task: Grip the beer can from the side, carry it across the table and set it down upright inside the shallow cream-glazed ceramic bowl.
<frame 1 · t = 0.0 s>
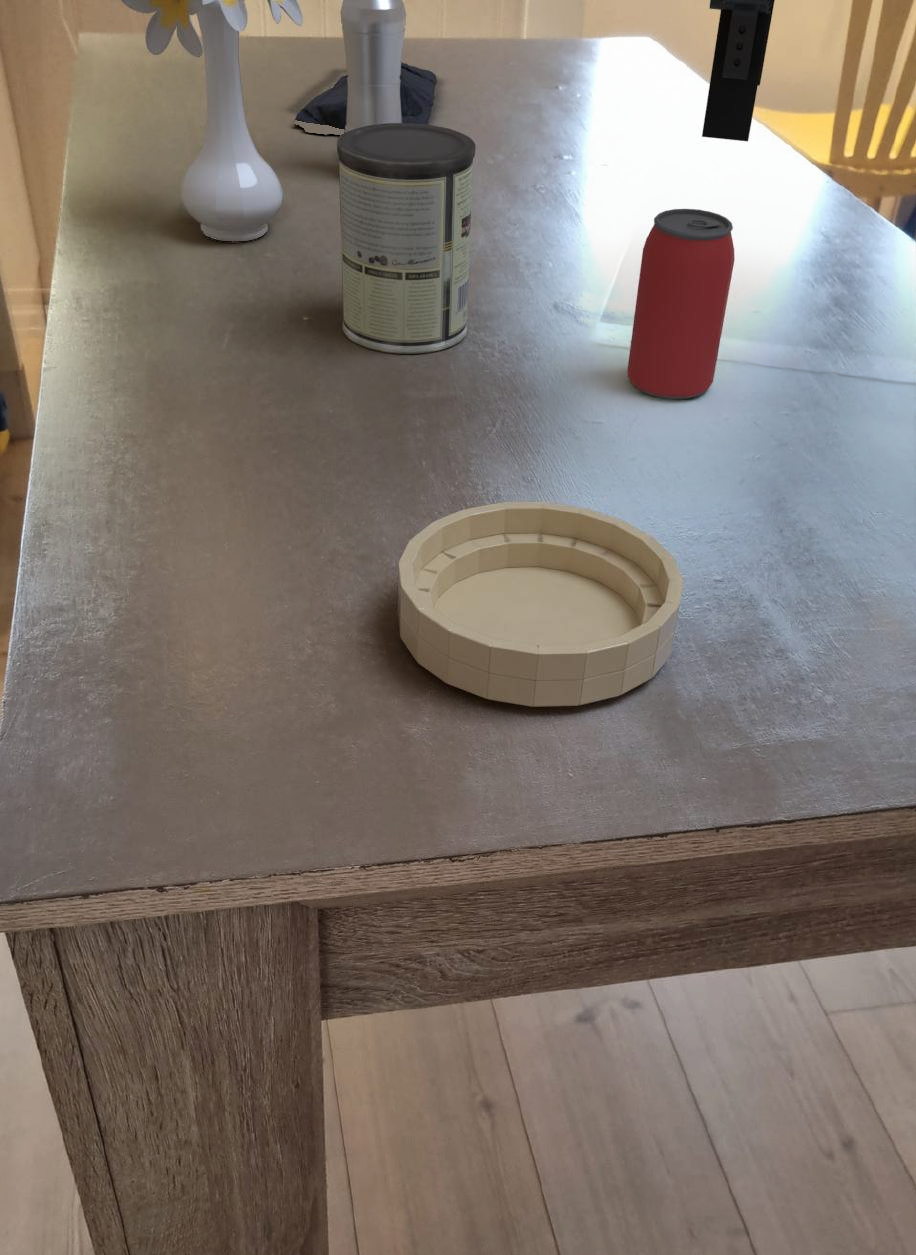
hand: (732, 109, 82), 21 cm above the table, tool pointing down, fingers open, 13 cm apart
coffee can: (404, 332, 106), on the table
bowl: (535, 632, 75), on the table
flower vase: (236, 237, 121), on the table
dark blue folded cloth: (375, 115, 154), on the table
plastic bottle: (374, 178, 136), on the table
beer can: (668, 386, 100), on the table
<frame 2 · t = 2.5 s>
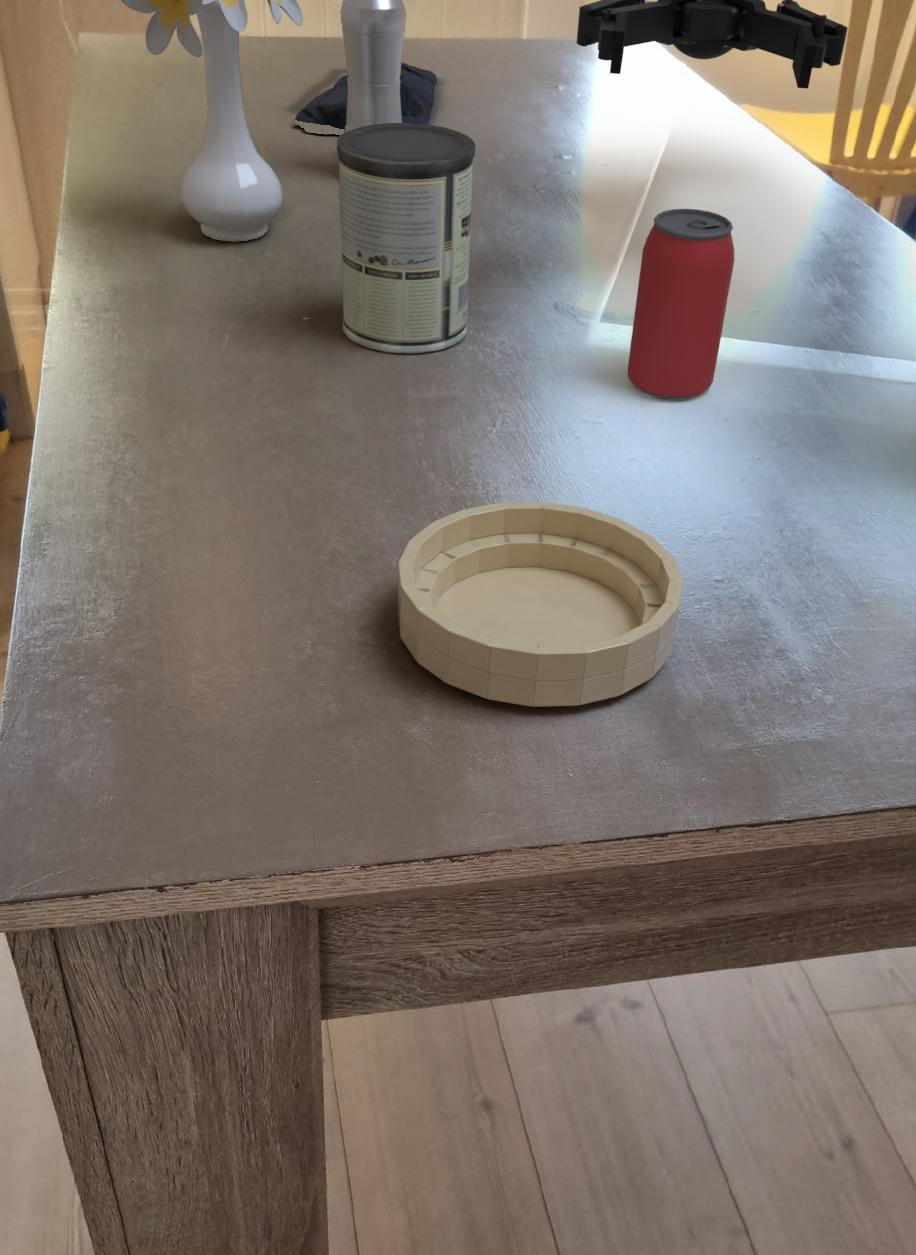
hand: (711, 60, 94), 20 cm above the table, tool horizontal, fingers open, 13 cm apart
nothing on the table moved.
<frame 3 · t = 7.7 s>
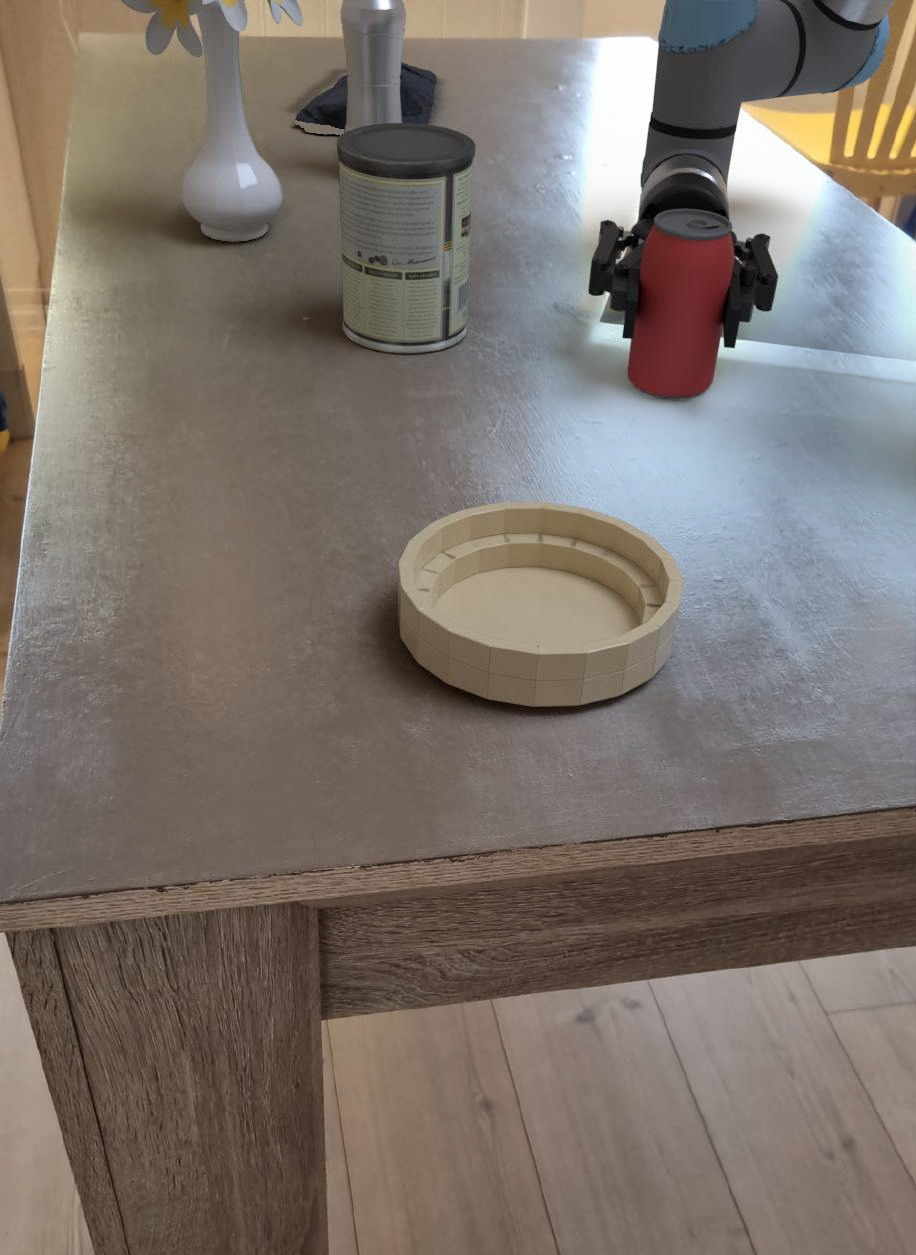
hand: (681, 324, 92), 7 cm above the table, tool horizontal, fingers closed on beer can, 6 cm apart
beer can: (668, 386, 100), on the table, touching gripper
everything else where it was.
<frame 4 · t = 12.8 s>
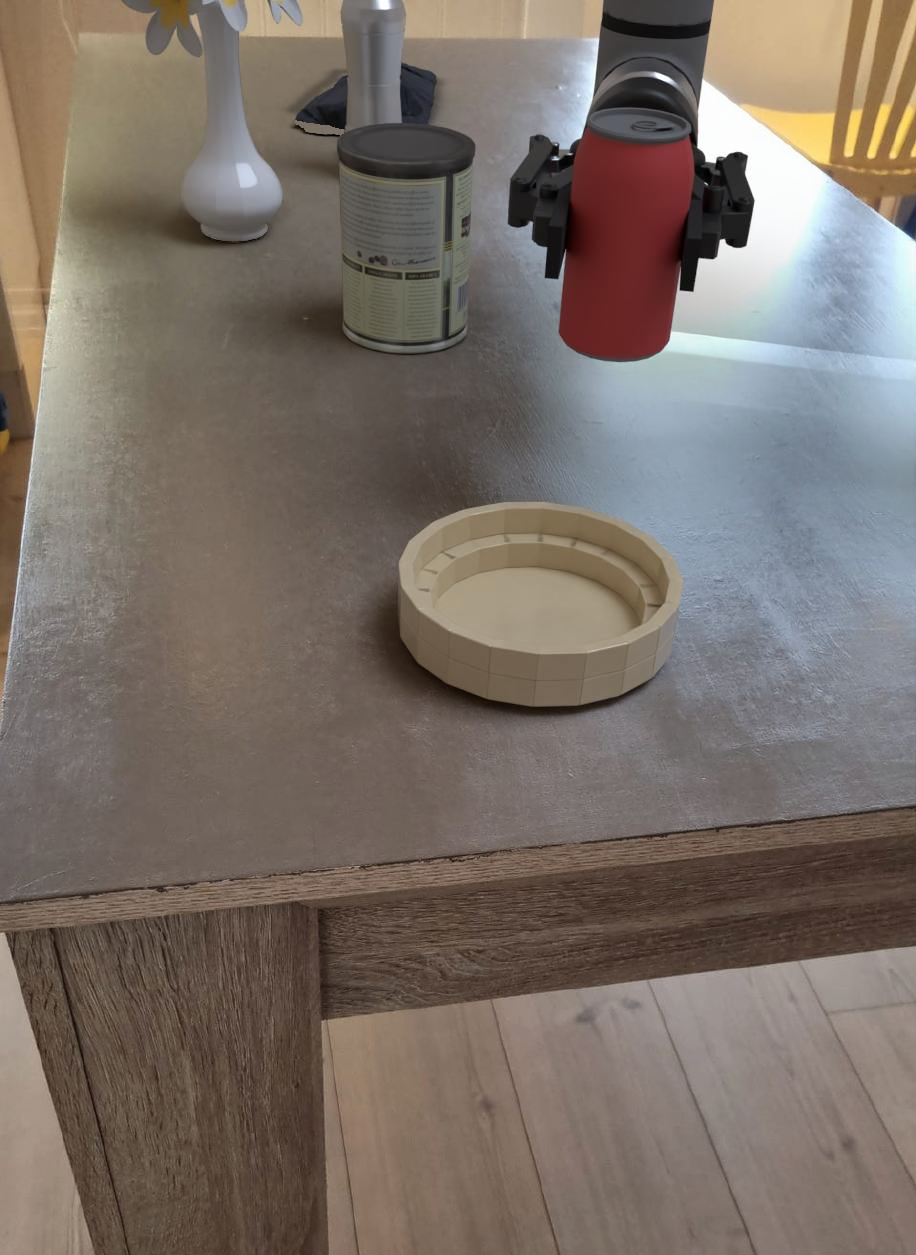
hand: (621, 259, 69), 18 cm above the table, tool horizontal, fingers closed on beer can, 6 cm apart
beer can: (612, 347, 77), point 11 cm above the table, touching gripper
everything else where it was.
when the fingers open (7 cm above the table, at t = 17.9 s): beer can stays where it is, resting on bowl.
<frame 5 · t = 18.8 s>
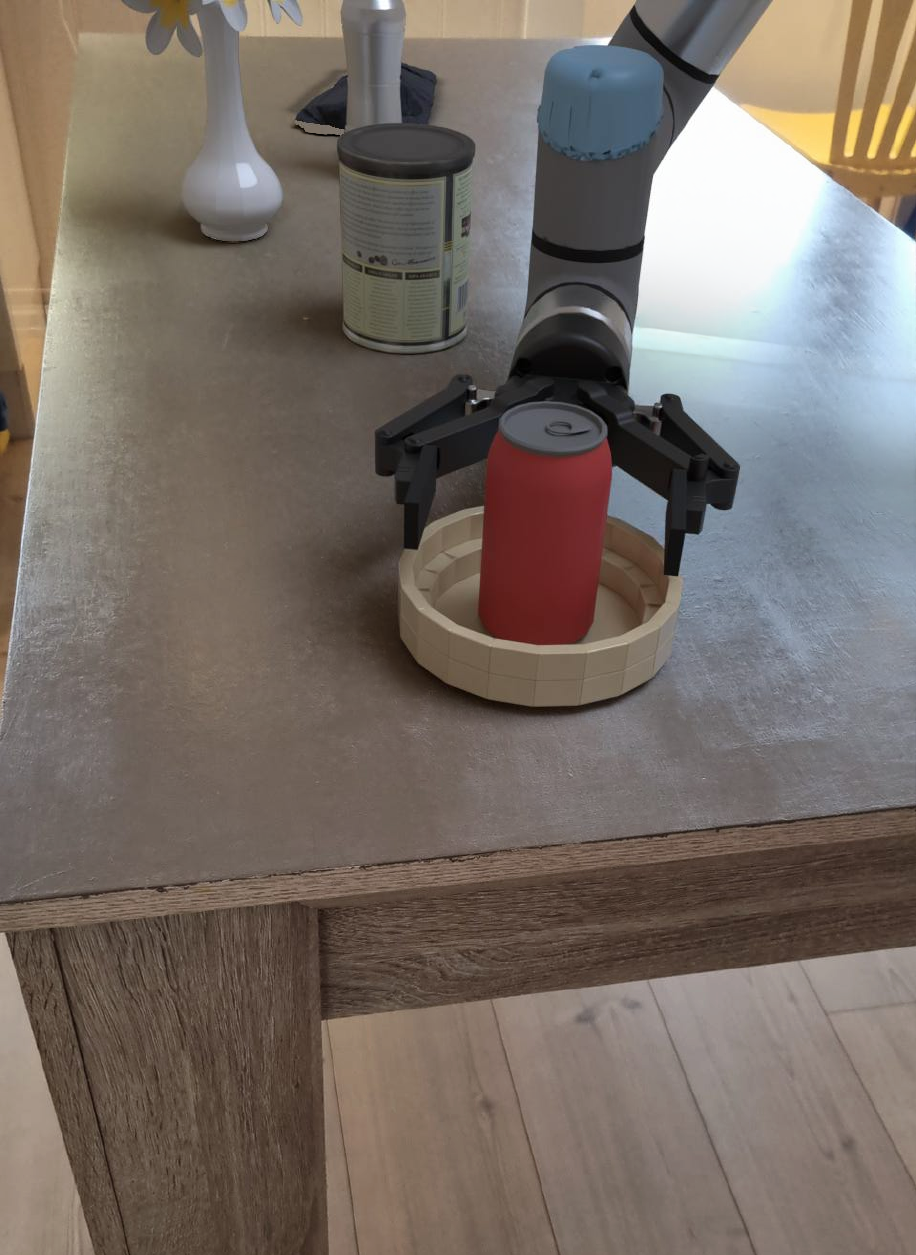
hand: (541, 540, 67), 8 cm above the table, tool horizontal, fingers open, 13 cm apart
beer can: (534, 625, 74), resting on bowl
everything else where it was.
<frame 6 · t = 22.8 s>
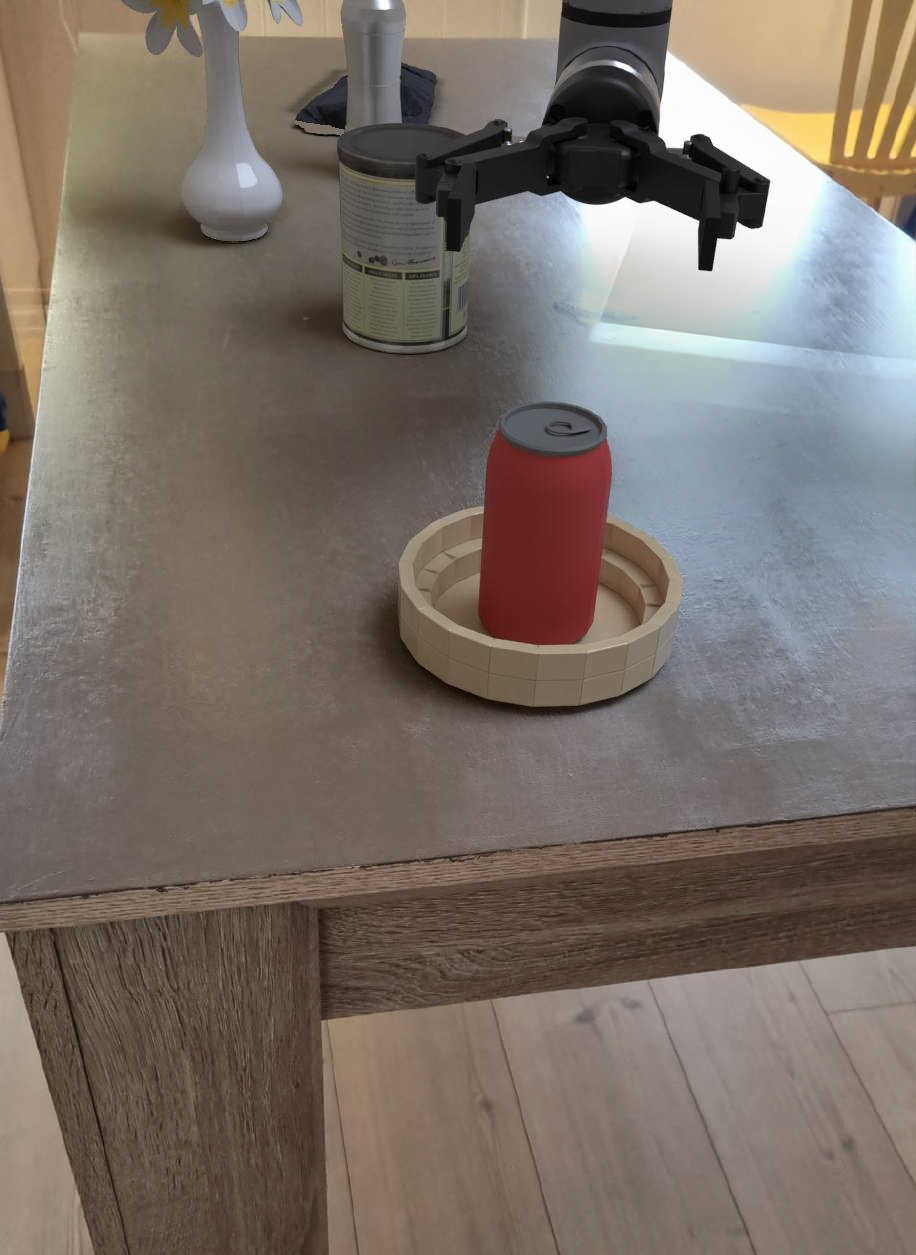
hand: (580, 235, 69), 19 cm above the table, tool horizontal, fingers open, 13 cm apart
nothing on the table moved.
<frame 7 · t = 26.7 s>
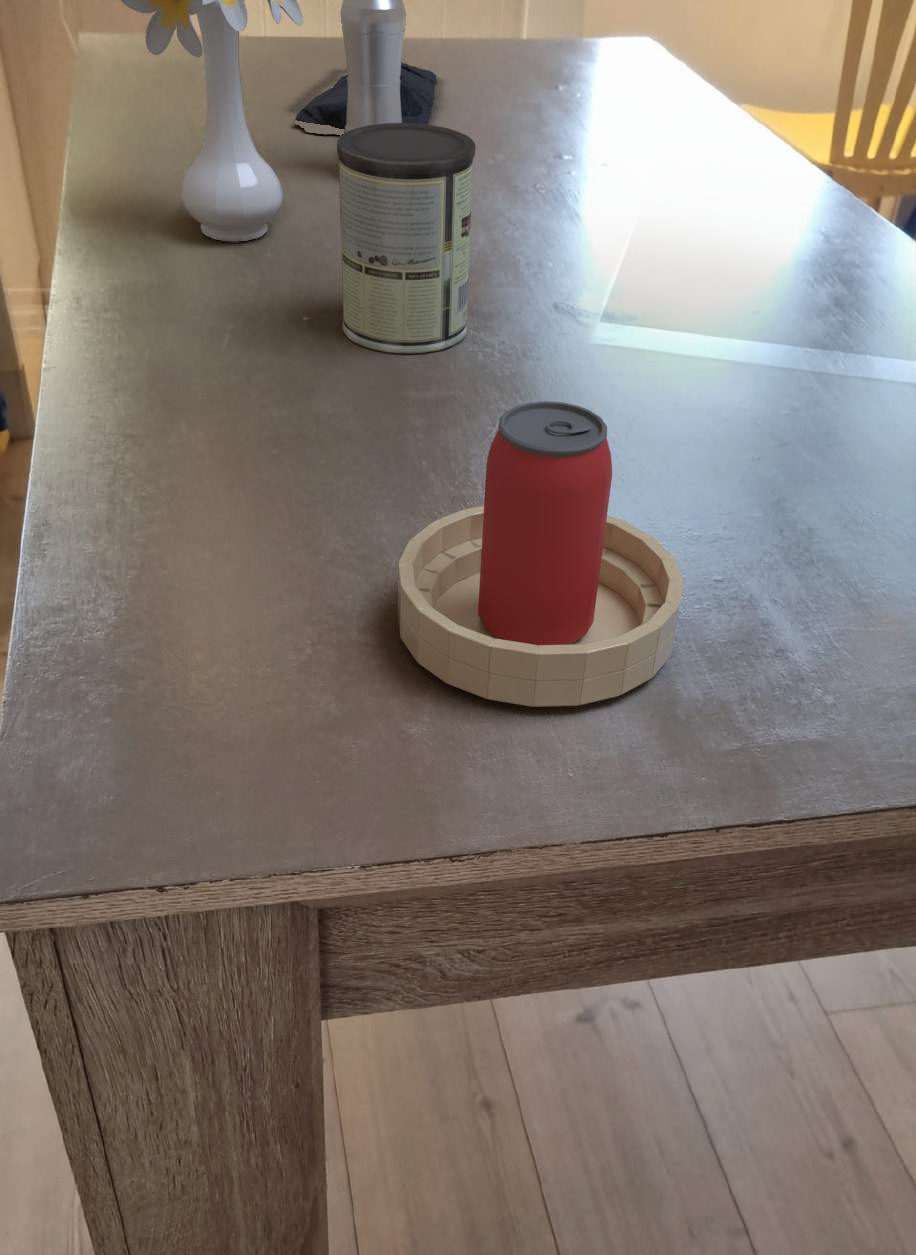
nothing on the table moved.
at the end: beer can inside the target area in the bowl (0.1 cm from its centre), point 0.4 cm above the bowl's base; beer can tilted 0°; the gripper is holding nothing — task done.
